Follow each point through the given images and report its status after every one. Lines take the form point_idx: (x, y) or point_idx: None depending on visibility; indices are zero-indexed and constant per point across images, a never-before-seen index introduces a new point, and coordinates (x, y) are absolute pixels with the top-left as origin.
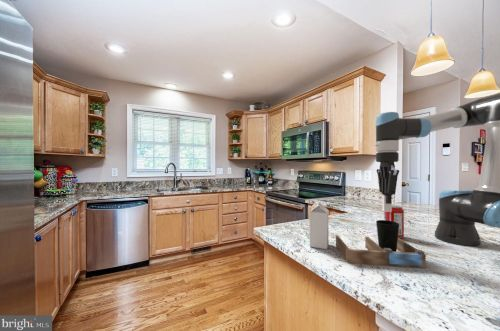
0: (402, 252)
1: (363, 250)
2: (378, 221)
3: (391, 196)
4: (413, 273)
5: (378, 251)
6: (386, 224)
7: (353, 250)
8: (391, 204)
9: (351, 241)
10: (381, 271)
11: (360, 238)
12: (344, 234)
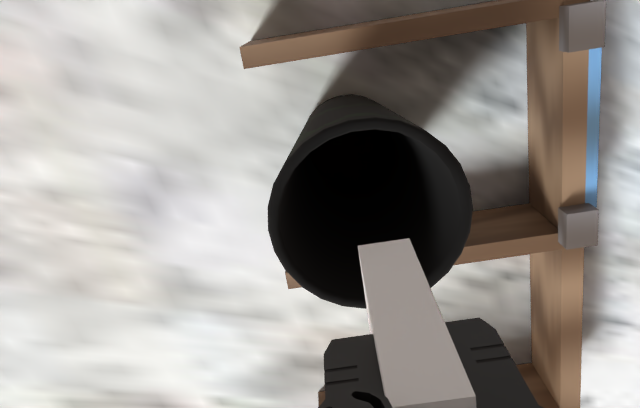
0: (571, 135)
1: (571, 345)
2: (309, 276)
3: (469, 382)
4: (627, 95)
5: (575, 272)
6: (457, 251)
7: (579, 392)
8: (431, 291)
9: (205, 315)
10: (621, 244)
11: (110, 251)
12: (63, 339)
